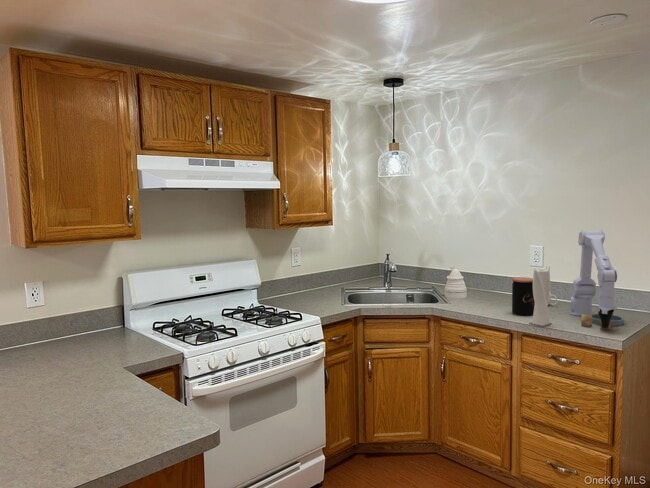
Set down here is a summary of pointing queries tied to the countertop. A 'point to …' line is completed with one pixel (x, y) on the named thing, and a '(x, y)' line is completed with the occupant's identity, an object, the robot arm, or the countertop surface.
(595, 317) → the ring dish
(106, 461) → the countertop surface
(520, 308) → the coffee jar
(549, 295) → the mug
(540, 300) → the skyscraper
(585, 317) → the oak bead
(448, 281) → the honey pot
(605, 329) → the walnut bead
